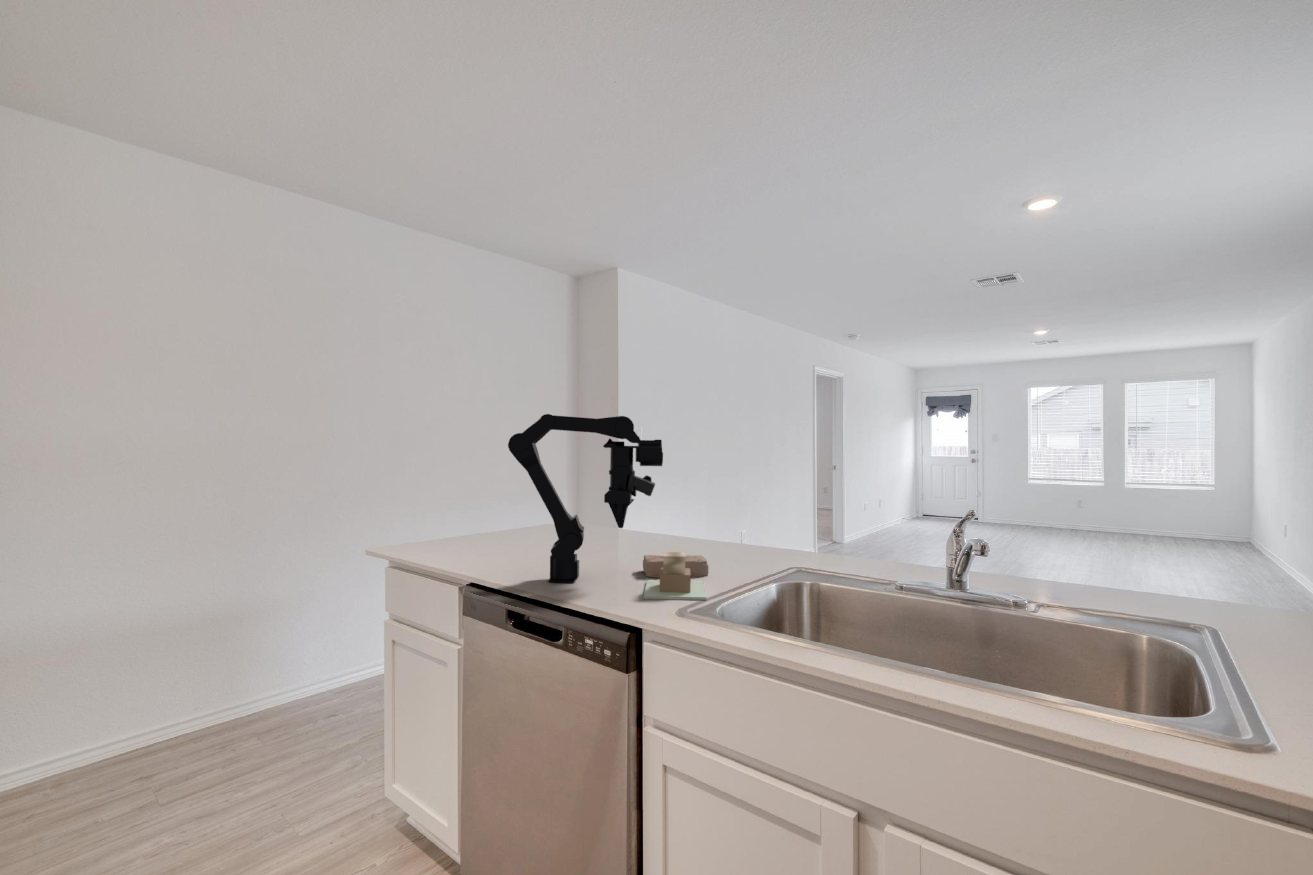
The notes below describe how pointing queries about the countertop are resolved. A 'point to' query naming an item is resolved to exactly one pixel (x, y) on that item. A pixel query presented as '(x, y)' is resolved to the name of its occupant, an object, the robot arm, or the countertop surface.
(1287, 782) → the countertop surface
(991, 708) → the countertop surface
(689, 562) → the brick
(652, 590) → the baseplate
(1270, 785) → the countertop surface
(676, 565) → the maple block
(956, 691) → the countertop surface
